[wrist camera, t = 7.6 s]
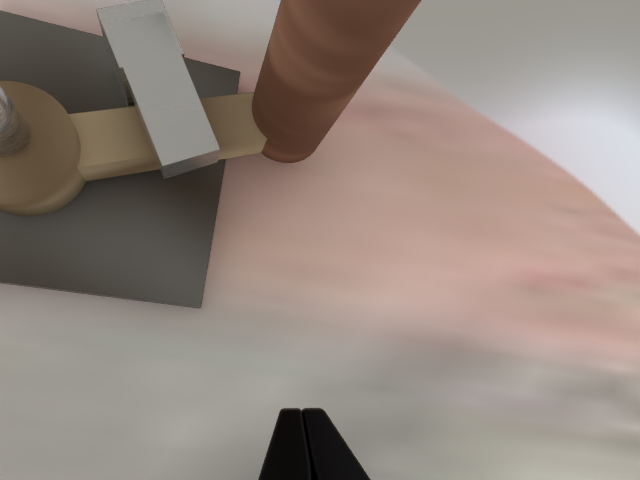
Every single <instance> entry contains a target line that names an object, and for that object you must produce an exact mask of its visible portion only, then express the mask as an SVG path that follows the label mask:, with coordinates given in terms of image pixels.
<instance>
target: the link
mask: <svg viewBox="0 0 640 480" xmlns="http://www.w3.org/2000/svg"><path fill="white" fill-rule="evenodd" d="M420 1H421V0H281V2H280V6H279V9H278V13H277V16H276V20H275V23H274V27H273V30H272V33H271V37H270V40H269V44H268V47H267V51H266V54H265V58H264V61H263V64H262V68H261V71H260V75H259V78H258V82H257V85H256V89H255V92H252V93H244V94H235V95H227V96H218V97H210V98H202V99H200V102H201V104H202V106H203V109H204V111H205V114H206V116H207V119H208V121H209V123H210V126H211V128H212V131H213V133H214V136H215V138H216V140H217V143H218V145H219V148H220V152H219V157H218V160H220V159H227V158H233V157H239V156H245V155H251V154H257V153H262V154H263V155H265V156H266V157H268V158H270V159H272V160H274V161H278V162H283V163H294V162H298V161H301V160H304V159H305V158H307V157H308V156H310V155H311V154H312V153H313V152H314V151H315V149H316V148H317V146H318V145H319V144H320V142H321V141H322V139H323V138H324V137H325V135H326V134H327V132H328V131H329V130H330V128H331V127H332V125H333V124H334V123H335V121H336V120H337V118H338V117H339V115H340V114H341V113H342V111H343V110H344V108H345V107H346V106H347V104H348V103H349V101H350V100H351V99H352V97H353V96H354V94H355V93H356V92H357V90H358V89H359V87H360V86H361V85H362V83H363V82H364V80H365V79H366V77H367V76H368V75H369V73H370V72H371V70H372V69H373V68H374V66H375V65H376V63H377V62H378V61H379V59H380V58H381V56H382V55H383V54H384V52H385V51H386V49H387V48H388V46H389V45H390V44H391V42H392V41H393V39H394V38H395V37H396V35H397V34H398V32H399V31H400V30H401V28H402V27H403V25H404V24H405V23H406V21H407V20H408V18H409V17H410V15H411V14H412V13H413V11H414V10H415V8H416V7H417V5H418V4H419V3H420ZM0 87H1V88H2V89H3V91H4V92H5V94H6V95H7V96H8V98H9V99H10V100H11V102H12V103H13V104H14V106H15V107H16V108H17V110H18V111H19V112H20V114H21V115H22V116H23V118H24V119H25V120H26V122H27V123H28V125H29V127H30V131H31V137H30V141H29V143H28V145H27V146H26V147H25V149H24V150H22V151H21V152H19V153H18V154H16V155H13V156H9V157H0V211H2V212H5V213H8V214H13V215H18V216H37V215H43V214H47V213H51V212H53V211H56V210H58V209H60V208H62V207H64V206H65V205H67V204H68V203H70V202H71V201H72V200H73V199H74V198H75V197H76V196H77V195H78V194H79V193H80V191H81V190H82V188H83V186H84V184H85V182H86V181H91V180H97V179H103V178H109V177H115V176H121V175H128V174H134V173H140V172H146V171H152V170H159V169H160V167H159V165H158V162H157V160H156V157H155V155H154V152H153V150H152V147H151V145H150V142H149V140H148V137H147V135H146V132H145V130H144V127H143V125H142V122H141V120H140V117H139V115H138V112H137V110H136V107H135V106H134V107H126V108H117V109H109V110H100V111H92V112H83V113H75V114H68V113H67V112H66V110H65V109H64V107H63V106H62V105H61V104H60V103H59V102H58V101H57V100H56V99H55V98H54V97H52V96H51V95H49V94H48V93H46V92H45V91H43V90H41V89H39V88H37V87H34V86H32V85H28V84H25V83H20V82H14V81H0Z"/></svg>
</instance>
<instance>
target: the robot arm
mask: <svg viewBox="0 0 640 480" xmlns="http://www.w3.org/2000/svg"><path fill="white" fill-rule="evenodd" d="M258 480H370V478H369V477H368V475H367V474H366V472H365V471H364V469H363V468H362V466H361V465H360V463H359V462H358V460H357V459H356V457H355V456H354V454H353V453H352V451H351V450H350V448H349V447H348V445H347V444H346V442H345V441H344V439H343V438H342V436H341V435H340V433H339V432H338V430H337V429H336V427H335V426H334V424H333V423H332V421H331V420H330V418H329V417H328V415H327V414H326V412H325V411H324V410H323V409H321V408H304V409H303V410H302V411H301V409H299V408H284V409H281V411H280V413H279V416H278V419H277V422H276V425H275V428H274V432H273V435H272V438H271V441H270V444H269V447H268V451H267V454H266V457H265V460H264V463H263V466H262V469H261V473H260V476H259V479H258Z"/></svg>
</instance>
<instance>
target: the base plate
mask: <svg viewBox="0 0 640 480" xmlns="http://www.w3.org/2000/svg"><path fill="white" fill-rule="evenodd" d="M184 63H185V65H186V67H187V70H188V72H189V75H190V77H191V80H192V82H193V85H194V87H195V89H196V92H197V94H198V97H199V99H202V98H210V97H218V96H227V95H235V94H237V89H238V83H239V77H240V72H239V71H235V70H231V69H227V68H223V67H219V66H216V65H212V64H208V63H204V62H200V61H196V60H192V59H188V58H184ZM0 81H14V82H20V83H25V84H28V85H32V86H34V87H37V88H39V89H41V90H43V91H45V92H46V93H48V94H49V95H51V96H52V97H54V98H55V99H56V100H57V101H58V102H59V103H60V104H61V105H62V106H63V107H64V109H65V110H66V112H67V113H68V114H75V113H83V112H92V111H100V110H109V109H117V108H126V107H127V105H126V102H125V100H124V97H123V95H122V92H121V90H120V87H119V85H118V82H117V80H116V77H115V75H114V72H113V70H112V66H111V62H110V59H109V55H108V51H107V48H106V44H105V40H104V37H102V36H98V35H94V34H90V33H86V32H82V31H79V30H75V29H71V28H67V27H63V26H59V25H55V24H51V23H47V22H43V21H39V20H36V19H32V18H28V17H24V16H20V15H16V14H12V13H8V12H4V11H0ZM225 161H226V159H220V160H218V162H217V163H214V164H211V165H208V166H205V167H201V168H198V169H195V170H191V171H188V172H185V173H182V174H178V175H175V176H172V177H168V178H165V179H164V177H163V175H162V172H161V170H160V169H159V170H152V171H146V172H140V173H134V174H128V175H121V176H115V177H109V178H103V179H97V180H91V181H86V182H85V184H84V186H83V188H82V190H81V191H80V193H79V194H78V195H77V196H76V197H75V198H74V199H73V200H72V201H71V202H70V203H68V204H67V205H65V206H64V207H62V208H60V209H58V210H56V211H53V212H51V213H47V214H43V215H37V216H18V215H13V214H8V213H5V212H2V211H0V283H4V284H12V285H20V286H28V287H36V288H43V289H51V290H59V291H67V292H75V293H83V294H91V295H98V296H106V297H114V298H122V299H130V300H138V301H146V302H153V303H161V304H169V305H177V306H185V307H193V308H201V304H202V298H203V292H204V286H205V280H206V274H207V268H208V262H209V256H210V250H211V244H212V238H213V232H214V226H215V220H216V214H217V208H218V202H219V197H220V191H221V185H222V179H223V173H224V167H225Z"/></svg>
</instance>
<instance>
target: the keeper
mask: <svg viewBox="0 0 640 480" xmlns="http://www.w3.org/2000/svg"><path fill="white" fill-rule="evenodd" d="M96 11H97V14H98V18H99V22H100V26H101V29H102V33H103V37H104V40H105V44H106V48H107V51H108V55H109V59H110V62H111V66H112V70H113V72H114V75H115V77H116V80H117V82H118V85H119V87H120V90H121V92H122V95H123V97H124V100H125V102H126V105H127V107H134V106H135V107H136V110H137V112H138V115H139V117H140V120H141V122H142V125H143V127H144V130H145V132H146V135H147V137H148V140H149V142H150V145H151V147H152V150H153V152H154V155H155V157H156V160H157V162H158V165H159V167H160V170H161V172H162V175H163V177H164V179H165V178H168V177H172V176H175V175H178V174H182V173H185V172H188V171H191V170H195V169H198V168H201V167H205V166H208V165H211V164H214V163H217V162H218V157H219V152H220V148H219V145H218V143H217V140H216V138H215V136H214V133H213V131H212V128H211V126H210V123H209V121H208V119H207V116H206V114H205V111H204V109H203V106H202V104H201V102H200V99H199V97H198V94H197V92H196V89H195V87H194V85H193V82H192V80H191V77H190V75H189V72H188V70H187V67H186V65H185V63H184V52H183V50H182V47H181V45H180V42H179V40H178V38H177V35H176V33H175V30H174V28H173V25H172V23H171V21H170V18H169V16H168V13H167V11H166V8H165V6H164V4H163V1H162V0H146V1H140V2H135V3H129V4H123V5H118V6H112V7H106V8H101V9H96ZM30 137H31V131H30V127H29V125H28V123H27V122H26V120H25V119H24V118H23V116H22V115H21V114H20V112H19V111H18V110H17V108H16V107H15V106H14V104H13V103H12V102H11V100H10V99H9V98H8V96H7V95H6V94H5V92H4V91H3V89H2V88H1V87H0V157H9V156H13V155H16V154H18V153H19V152H21V151H22V150H24V149H25V147H26V146H27V145H28V143H29V141H30Z"/></svg>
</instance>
